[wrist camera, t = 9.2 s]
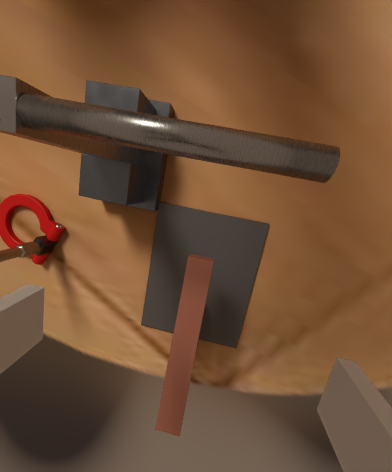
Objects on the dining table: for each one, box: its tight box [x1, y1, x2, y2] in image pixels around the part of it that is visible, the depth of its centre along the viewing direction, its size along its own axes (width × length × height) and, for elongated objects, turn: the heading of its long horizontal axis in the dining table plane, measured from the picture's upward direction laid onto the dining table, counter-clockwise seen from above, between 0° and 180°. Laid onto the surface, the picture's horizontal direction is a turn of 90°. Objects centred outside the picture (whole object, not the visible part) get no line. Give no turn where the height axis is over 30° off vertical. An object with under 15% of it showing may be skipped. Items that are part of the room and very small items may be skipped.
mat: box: [141, 202, 269, 348], centre depth 30 cm, size 18×14×1 cm
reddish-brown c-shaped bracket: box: [156, 254, 214, 436], centre depth 26 cm, size 10×2×17 cm
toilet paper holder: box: [0, 75, 340, 211], centre depth 19 cm, size 12×20×18 cm, turn 79°
